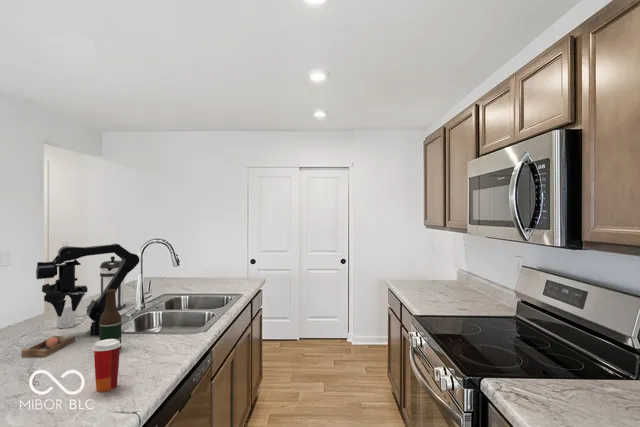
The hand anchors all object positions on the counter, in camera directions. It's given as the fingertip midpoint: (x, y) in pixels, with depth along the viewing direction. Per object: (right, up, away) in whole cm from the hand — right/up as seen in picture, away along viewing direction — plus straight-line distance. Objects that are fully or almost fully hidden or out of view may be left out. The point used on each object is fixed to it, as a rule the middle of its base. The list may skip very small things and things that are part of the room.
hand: (66, 313), depth 156 cm
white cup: (-15, -12, +22) cm, 29 cm away
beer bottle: (+23, -12, -9) cm, 28 cm away
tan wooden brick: (0, -11, -6) cm, 12 cm away
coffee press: (-13, -12, +57) cm, 60 cm away
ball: (0, -9, -9) cm, 13 cm away
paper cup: (+40, -12, -41) cm, 59 cm away
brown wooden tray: (0, -12, -10) cm, 15 cm away
